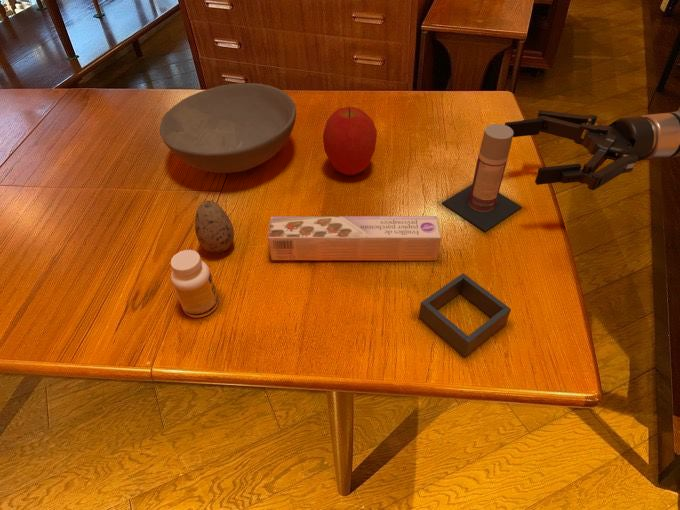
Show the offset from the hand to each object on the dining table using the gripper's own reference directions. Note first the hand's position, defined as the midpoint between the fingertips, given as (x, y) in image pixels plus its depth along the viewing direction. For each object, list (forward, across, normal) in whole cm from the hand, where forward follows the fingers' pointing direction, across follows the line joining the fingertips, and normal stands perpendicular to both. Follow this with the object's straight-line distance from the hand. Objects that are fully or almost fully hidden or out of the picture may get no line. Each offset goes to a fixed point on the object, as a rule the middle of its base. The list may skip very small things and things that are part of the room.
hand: (519, 152), depth 80 cm
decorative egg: (+51, -2, -11) cm, 53 cm away
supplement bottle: (+54, -14, -11) cm, 57 cm away
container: (+4, 0, -11) cm, 12 cm away
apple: (+26, +16, -11) cm, 32 cm away
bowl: (+48, +25, -11) cm, 55 cm away
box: (+29, -7, -11) cm, 32 cm away
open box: (+16, -24, -11) cm, 31 cm away
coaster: (+4, 0, -11) cm, 12 cm away
